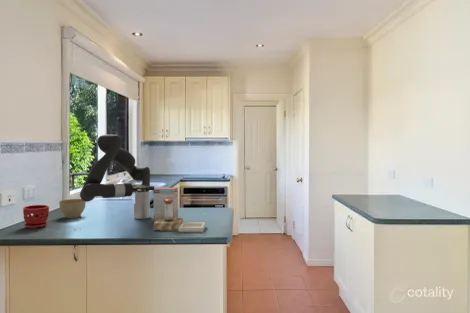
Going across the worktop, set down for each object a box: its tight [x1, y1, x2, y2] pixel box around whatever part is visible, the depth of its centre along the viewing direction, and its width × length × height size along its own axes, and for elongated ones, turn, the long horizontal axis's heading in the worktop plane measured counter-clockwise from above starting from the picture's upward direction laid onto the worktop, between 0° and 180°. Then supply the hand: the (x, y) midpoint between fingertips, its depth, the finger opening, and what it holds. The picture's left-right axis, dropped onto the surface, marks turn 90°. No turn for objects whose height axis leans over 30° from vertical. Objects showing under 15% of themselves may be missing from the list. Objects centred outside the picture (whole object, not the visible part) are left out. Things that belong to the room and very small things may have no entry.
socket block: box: [153, 217, 184, 231], centre depth 201 cm, size 14×14×4 cm
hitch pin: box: [164, 199, 174, 222], centre depth 201 cm, size 6×6×16 cm
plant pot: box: [22, 204, 50, 229], centre depth 205 cm, size 13×13×12 cm
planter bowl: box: [58, 198, 87, 219], centre depth 233 cm, size 16×16×11 cm
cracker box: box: [152, 186, 179, 223], centre depth 217 cm, size 14×6×21 cm, turn 74°
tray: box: [178, 221, 206, 233], centre depth 196 cm, size 13×13×2 cm
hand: (150, 187), depth 193 cm, fingers open, 8 cm apart
